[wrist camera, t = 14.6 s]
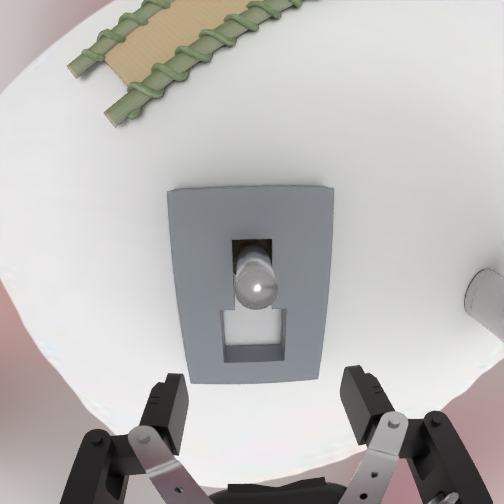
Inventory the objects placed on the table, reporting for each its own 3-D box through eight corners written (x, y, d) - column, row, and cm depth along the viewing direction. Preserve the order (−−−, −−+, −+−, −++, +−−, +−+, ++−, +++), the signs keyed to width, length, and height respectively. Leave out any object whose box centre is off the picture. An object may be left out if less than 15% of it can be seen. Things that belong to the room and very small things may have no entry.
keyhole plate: (323, 186, 34) (334, 188, 30) (312, 362, 41) (317, 379, 37) (175, 189, 33) (166, 192, 29) (194, 366, 40) (190, 383, 37)
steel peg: (277, 225, 35) (295, 253, 23) (277, 274, 37) (292, 321, 25) (225, 226, 35) (216, 255, 23) (227, 276, 36) (221, 324, 25)
